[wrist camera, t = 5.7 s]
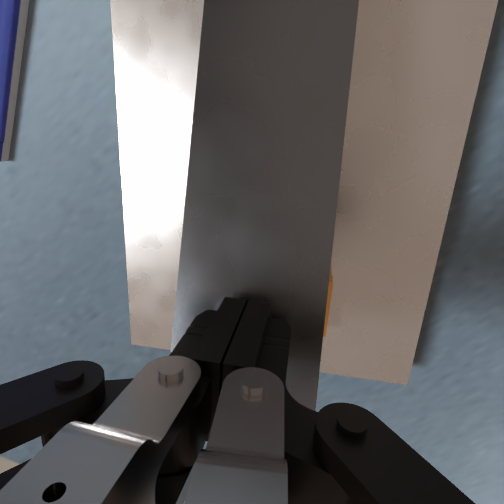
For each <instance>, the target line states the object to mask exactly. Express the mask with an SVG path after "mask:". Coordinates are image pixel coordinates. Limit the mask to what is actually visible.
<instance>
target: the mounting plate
mask: <svg viewBox="0 0 504 504" xmlns="http://www.w3.org/2000/svg"><path fill="white" fill-rule="evenodd" d="M110 1H111V17H112V34H113V50H114V66H115V83H116V99H117V115H118V132H119V148H120V164H121V180H122V197H123V213H124V229H125V246H126V262H127V278H128V295H129V311H130V327H131V343H132V344H133V345H139V346H146V347H153V348H160V349H167V350H171V344H172V333H173V322H174V312H175V301H176V291H177V280H178V270H179V259H180V249H181V238H182V228H183V217H184V207H185V196H186V186H187V175H188V165H189V154H190V144H191V133H192V123H193V112H194V102H195V91H196V81H197V70H198V60H199V49H200V39H201V28H202V18H203V7H204V0H110ZM497 4H498V0H359V5H358V14H357V24H356V33H355V43H354V52H353V61H352V71H351V80H350V89H349V99H348V108H347V118H346V127H345V136H344V146H343V155H342V164H341V174H340V183H339V192H338V202H337V211H336V221H335V230H334V239H333V249H332V258H331V267H330V277H329V286H328V296H327V305H326V314H325V324H324V333H323V342H322V352H321V361H320V371H319V372H323V373H329V374H336V375H343V376H350V377H356V378H363V379H370V380H377V381H384V382H390V383H397V384H404V385H408V381H409V377H410V372H411V368H412V364H413V360H414V356H415V351H416V347H417V343H418V339H419V334H420V330H421V326H422V322H423V317H424V313H425V309H426V305H427V300H428V296H429V292H430V288H431V284H432V279H433V275H434V271H435V267H436V262H437V258H438V254H439V250H440V245H441V241H442V237H443V233H444V229H445V224H446V220H447V216H448V212H449V207H450V203H451V199H452V195H453V190H454V186H455V182H456V178H457V173H458V169H459V165H460V161H461V157H462V152H463V148H464V144H465V140H466V135H467V131H468V127H469V123H470V118H471V114H472V110H473V106H474V102H475V97H476V93H477V89H478V85H479V80H480V76H481V72H482V68H483V63H484V59H485V55H486V51H487V46H488V42H489V38H490V34H491V30H492V25H493V21H494V17H495V13H496V8H497Z"/></svg>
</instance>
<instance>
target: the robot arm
mask: <svg viewBox="0 0 504 504" xmlns="http://www.w3.org/2000/svg"><path fill="white" fill-rule="evenodd" d="M290 338H291V327H290V326H289V324H288V322H287V321H286V320H285V319H278V318H271V302H264V301H256V300H249V301H248V300H247V299H239V298H231V297H225V298H224V300H223V302H222V303H221V305H220V307H219V309H218V310H217V311H216V310H208V309H207V310H206V311H204V312H202V313H200V314H199V315H197V316H196V317H195V318H194V320H193V321H192V323H191V324H190V327H188V329H187V330H186V332H185V334H184V335H183V336H182V338H181V339H180V341H179V342H178V344H177V345H176V347H175V348H174V350H173V351H172V352H171V354H170V355H169V356H166V357H161V358H158V359H156V360H153V361H151V362H150V363H148V364H147V365H146V366H145V367H144V368H143V369H142V370H141V371H140V372H139V373H138V375H137V376H136V377H135V378H132V379H120V380H106V381H105V378H104V370H103V368H102V367H101V366H100V365H99V364H97V363H94V362H91V361H72V362H67V363H63V364H60V365H57V366H54V367H51V368H48V369H45V370H43V371H40V372H37V373H34V374H31V375H28V376H25V377H22V378H19V379H16V380H13V381H11V382H8V383H5V384H2V385H0V454H2V453H4V452H6V451H8V450H11V449H13V448H15V447H17V446H19V445H22V444H24V443H26V442H28V441H31V440H33V439H35V438H37V437H39V436H41V439H42V445H43V448H42V449H41V450H40V451H39V452H38V453H37V454H36V455H35V456H34V457H33V458H32V459H30V460H28V461H26V462H24V463H22V464H20V465H18V466H15V467H13V468H11V469H9V470H7V471H5V472H3V473H1V474H0V504H475V503H474V502H473V501H472V500H470V499H469V498H468V497H467V496H466V495H465V494H464V493H463V492H461V491H460V490H459V489H458V488H457V487H456V486H455V485H453V484H452V483H451V482H450V481H449V480H448V479H447V478H446V477H444V476H443V475H442V474H441V473H440V472H439V471H438V470H436V469H435V468H434V467H433V466H432V465H431V464H430V463H429V462H427V461H426V460H425V459H424V458H423V457H422V456H421V455H419V454H418V453H417V452H416V451H415V450H414V449H413V448H411V447H410V446H409V445H408V444H407V443H406V442H405V441H404V440H402V439H401V438H400V437H399V436H398V435H397V434H396V433H394V432H393V431H392V430H391V429H390V428H389V427H388V426H387V425H385V424H384V423H383V422H382V421H381V420H380V419H379V418H377V417H376V416H375V415H374V414H372V413H371V412H369V411H368V410H366V409H364V408H362V407H360V406H357V405H354V404H349V403H332V404H329V405H327V406H325V407H323V408H322V409H321V410H320V411H319V412H316V411H314V410H311V409H309V408H307V407H305V406H303V405H302V404H300V403H298V402H297V401H296V400H295V399H294V398H293V397H292V396H291V395H290V393H289V392H288V390H287V388H286V376H287V367H288V358H289V348H290ZM205 441H208V443H207V447H206V450H205V449H203V447H204V444H205Z"/></svg>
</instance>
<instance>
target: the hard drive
mask: <svg viewBox="0 0 504 504" xmlns="http://www.w3.org/2000/svg"><path fill="white" fill-rule="evenodd" d="M28 8H29V0H0V161H8V160H9V153H10V145H11V138H12V131H13V124H14V116H15V108H16V101H17V93H18V85H19V77H20V70H21V62H22V55H23V47H24V39H25V31H26V24H27V16H28Z"/></svg>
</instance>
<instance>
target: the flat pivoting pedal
mask: <svg viewBox="0 0 504 504" xmlns="http://www.w3.org/2000/svg"><path fill="white" fill-rule="evenodd" d="M358 5H359V0H204V7H203V18H202V28H201V39H200V49H199V60H198V70H197V81H196V91H195V102H194V112H193V123H192V133H191V144H190V154H189V165H188V175H187V186H186V196H185V207H184V217H183V228H182V238H181V249H180V259H179V270H178V280H177V291H176V301H175V312H174V322H173V333H172V344H171V352H172V351H173V350H174V348H175V347H176V345H177V344H178V342H179V341H180V339H181V338H182V336H183V335H184V334H185V332H186V330H187V329H188V327H190V324H191V323H192V321H193V320H194V318H195V317H196V316H197V315H199V314H200V313H202V312H204V311H206V310H207V309H208V310H216V311H217V310H218V309H219V307H220V305H221V303H222V302H223V300H224V298H225V297H231V298H239V299H247V300H248V301H249V300H256V301H264V302H271V318H278V319H285V320H286V321H287V322H288V324H289V326H290V327H291V338H290V348H289V358H288V367H287V376H286V388H287V390H288V392H289V393H290V395H291V396H292V397H293V398H294V399H295V400H296V401H297V402H298V403H300V404H302V405H303V406H305V407H307V408H309V409H311V410H314V411H315V408H316V399H317V389H318V380H319V371H320V361H321V352H322V342H323V333H324V324H325V314H326V305H327V296H328V286H329V277H330V267H331V258H332V249H333V239H334V230H335V221H336V211H337V202H338V192H339V183H340V174H341V164H342V155H343V146H344V136H345V127H346V118H347V108H348V99H349V89H350V80H351V71H352V61H353V52H354V43H355V33H356V24H357V14H358Z"/></svg>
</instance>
